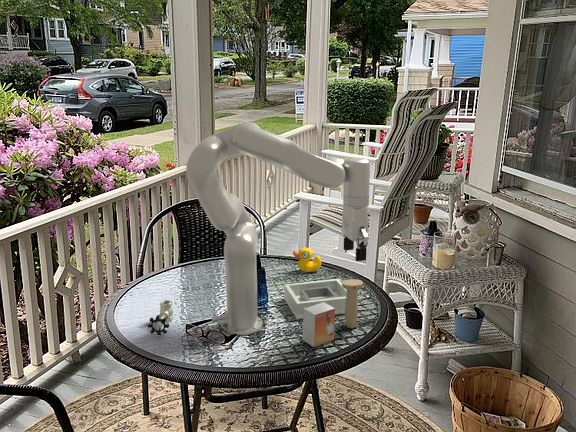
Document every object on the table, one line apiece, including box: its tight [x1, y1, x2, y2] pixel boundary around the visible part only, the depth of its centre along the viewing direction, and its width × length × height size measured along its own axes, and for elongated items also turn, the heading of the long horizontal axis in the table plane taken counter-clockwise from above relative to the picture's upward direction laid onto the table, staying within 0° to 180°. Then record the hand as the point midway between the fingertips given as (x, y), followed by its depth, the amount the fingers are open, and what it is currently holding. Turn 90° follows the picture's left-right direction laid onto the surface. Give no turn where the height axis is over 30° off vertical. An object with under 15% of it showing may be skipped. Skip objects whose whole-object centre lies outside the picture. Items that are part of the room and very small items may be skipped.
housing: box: [283, 278, 347, 320], centre depth 181 cm, size 20×16×6 cm
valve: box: [147, 299, 174, 336], centre depth 166 cm, size 7×7×12 cm
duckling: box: [292, 247, 322, 273], centre depth 210 cm, size 11×5×10 cm, turn 95°
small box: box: [302, 302, 336, 348], centre depth 158 cm, size 8×6×10 cm
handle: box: [341, 278, 364, 329], centre depth 166 cm, size 5×6×15 cm
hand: (354, 255), depth 161 cm, fingers open, 9 cm apart
